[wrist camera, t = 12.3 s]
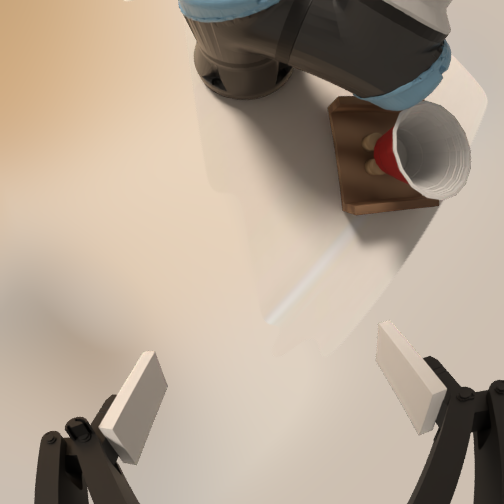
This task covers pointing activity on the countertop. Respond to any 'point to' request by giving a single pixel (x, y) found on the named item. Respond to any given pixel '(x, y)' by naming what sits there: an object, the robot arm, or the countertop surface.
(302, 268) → the countertop surface
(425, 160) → the plastic cup
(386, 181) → the peg board
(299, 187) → the countertop surface
